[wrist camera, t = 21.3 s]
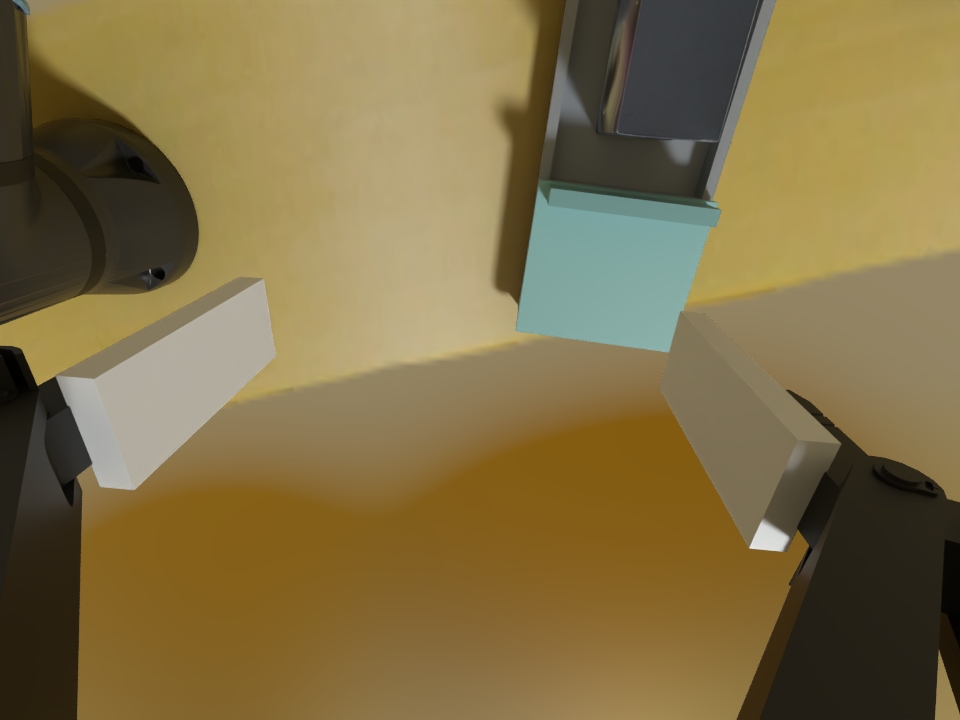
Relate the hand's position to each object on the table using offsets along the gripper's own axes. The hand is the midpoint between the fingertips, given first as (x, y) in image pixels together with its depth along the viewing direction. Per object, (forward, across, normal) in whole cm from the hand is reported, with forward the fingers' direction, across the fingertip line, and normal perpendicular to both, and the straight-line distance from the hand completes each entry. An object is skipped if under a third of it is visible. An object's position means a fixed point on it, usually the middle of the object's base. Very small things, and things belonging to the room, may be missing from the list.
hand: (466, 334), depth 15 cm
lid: (+25, +10, -4) cm, 27 cm away
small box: (+28, +10, +11) cm, 32 cm away
